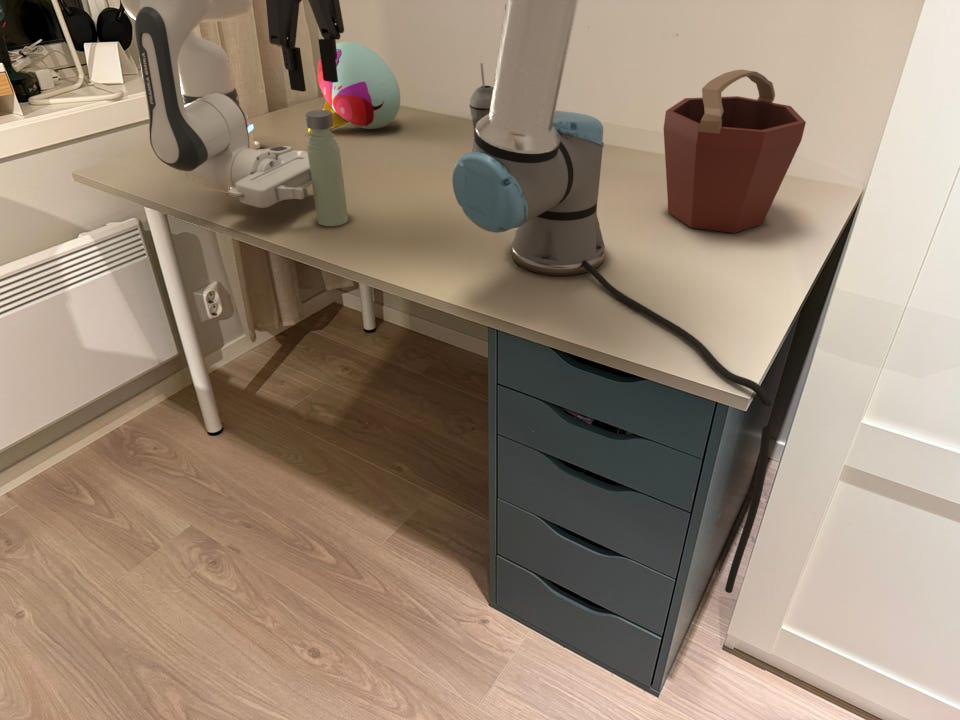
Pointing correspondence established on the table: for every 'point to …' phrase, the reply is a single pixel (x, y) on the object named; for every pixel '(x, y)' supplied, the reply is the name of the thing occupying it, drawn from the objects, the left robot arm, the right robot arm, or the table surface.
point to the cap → (319, 119)
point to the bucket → (728, 154)
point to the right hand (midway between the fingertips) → (314, 85)
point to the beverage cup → (480, 101)
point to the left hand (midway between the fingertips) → (320, 185)
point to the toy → (360, 89)
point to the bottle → (327, 178)
